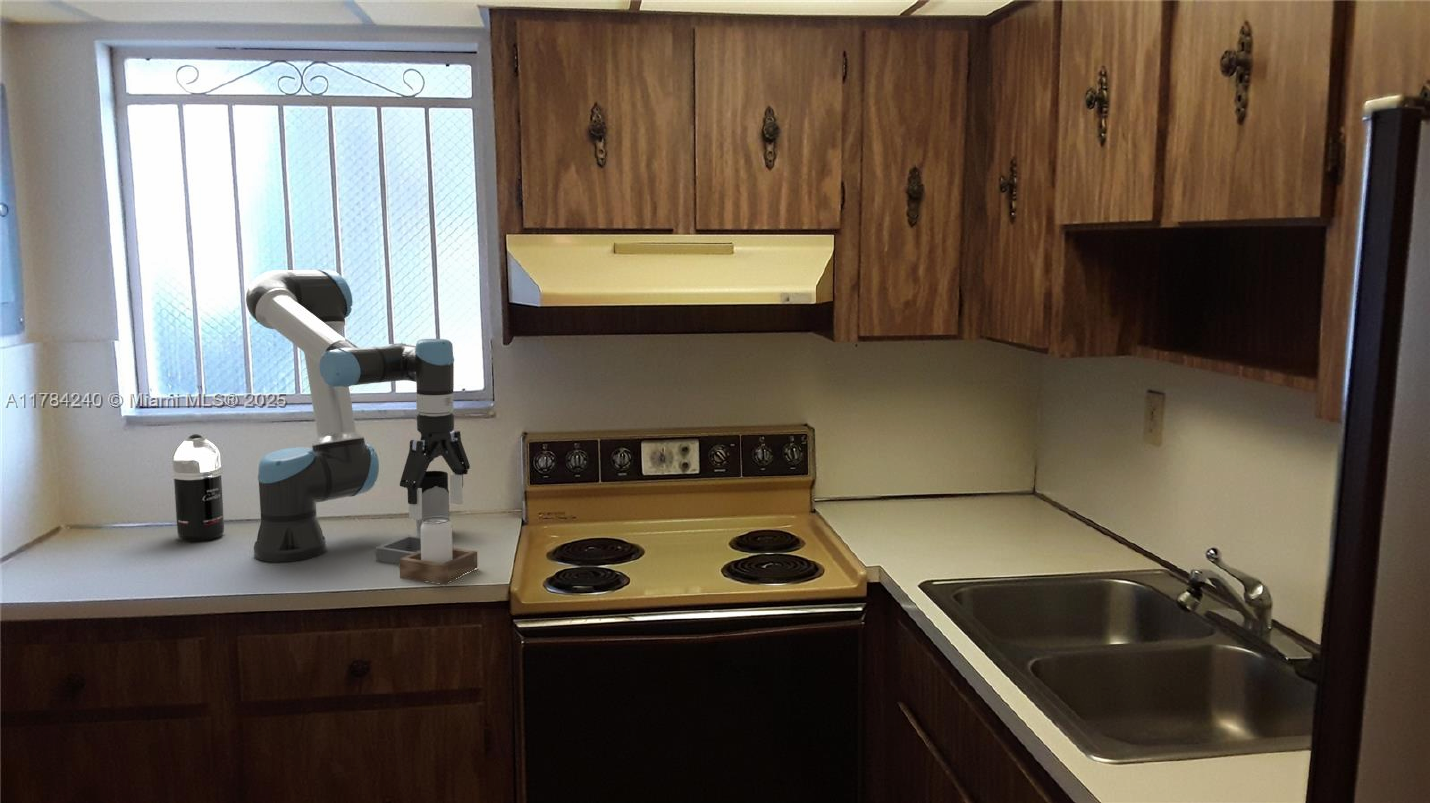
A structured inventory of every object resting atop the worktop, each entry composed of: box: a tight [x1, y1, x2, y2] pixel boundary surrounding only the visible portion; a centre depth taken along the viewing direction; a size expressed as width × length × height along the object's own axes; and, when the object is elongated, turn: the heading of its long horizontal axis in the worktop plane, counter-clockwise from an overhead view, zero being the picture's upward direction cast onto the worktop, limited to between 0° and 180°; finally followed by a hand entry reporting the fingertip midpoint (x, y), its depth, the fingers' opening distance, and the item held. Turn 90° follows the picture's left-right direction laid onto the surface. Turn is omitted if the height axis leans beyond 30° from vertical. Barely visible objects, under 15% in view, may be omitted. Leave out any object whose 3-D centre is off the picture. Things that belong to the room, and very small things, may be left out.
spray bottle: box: [172, 433, 225, 543], centre depth 234 cm, size 10×10×25 cm
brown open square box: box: [398, 547, 479, 585], centre depth 212 cm, size 12×12×4 cm
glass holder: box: [414, 470, 451, 537], centre depth 243 cm, size 9×14×15 cm, turn 29°
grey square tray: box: [375, 535, 421, 565], centre depth 223 cm, size 11×11×3 cm
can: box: [421, 516, 453, 564], centre depth 211 cm, size 6×6×12 cm
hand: (436, 510), depth 211 cm, fingers open, 13 cm apart
